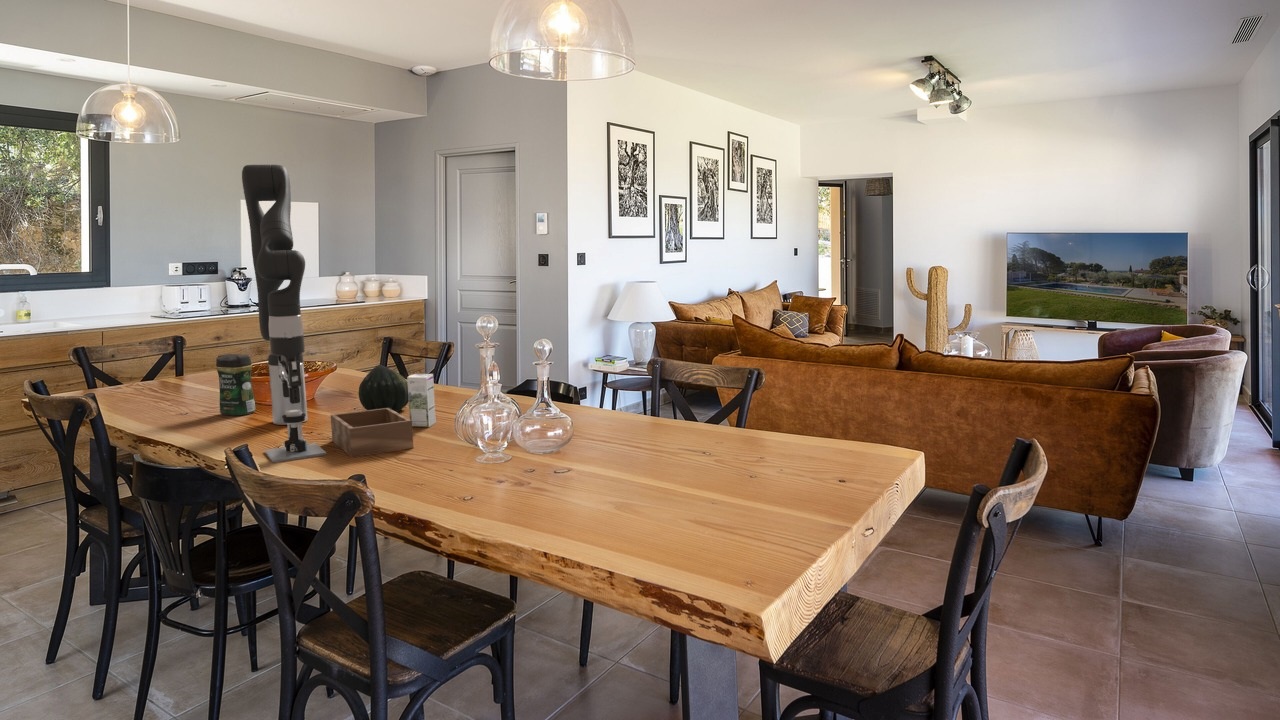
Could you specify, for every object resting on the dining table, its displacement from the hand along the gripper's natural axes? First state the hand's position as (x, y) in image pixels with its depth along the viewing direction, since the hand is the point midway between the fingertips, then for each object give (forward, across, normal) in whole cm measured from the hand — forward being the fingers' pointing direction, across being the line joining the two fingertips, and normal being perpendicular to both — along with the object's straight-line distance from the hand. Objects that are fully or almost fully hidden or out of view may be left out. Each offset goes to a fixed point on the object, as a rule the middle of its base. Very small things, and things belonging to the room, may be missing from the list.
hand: (291, 400), depth 192 cm
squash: (+14, -38, +33) cm, 53 cm away
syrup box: (+14, -12, +36) cm, 40 cm away
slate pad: (+13, 0, 0) cm, 13 cm away
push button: (+13, 0, 0) cm, 13 cm away
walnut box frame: (+13, +2, +18) cm, 22 cm away
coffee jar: (+15, -63, -5) cm, 64 cm away
